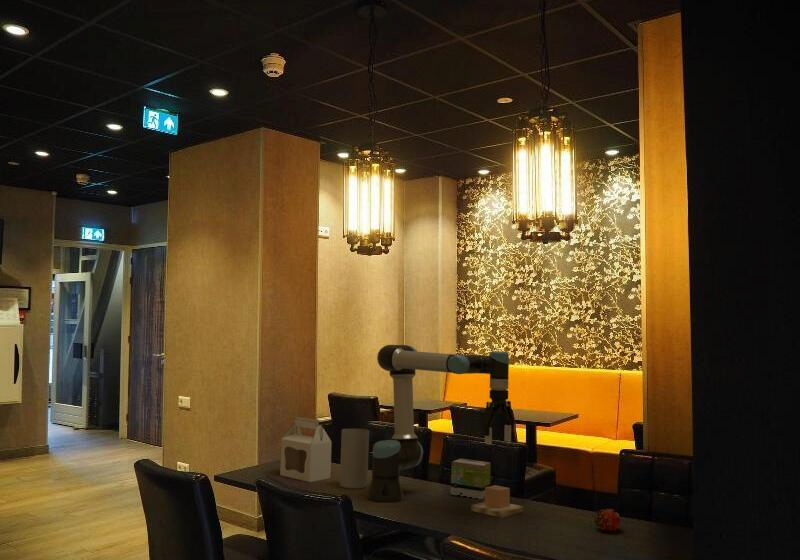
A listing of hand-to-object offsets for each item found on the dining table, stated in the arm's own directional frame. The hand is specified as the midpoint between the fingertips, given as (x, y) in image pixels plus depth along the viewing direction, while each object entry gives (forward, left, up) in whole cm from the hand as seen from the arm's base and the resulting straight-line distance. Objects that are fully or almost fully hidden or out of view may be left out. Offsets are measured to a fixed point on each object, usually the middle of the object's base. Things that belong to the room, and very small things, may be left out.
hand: (498, 442), depth 270 cm
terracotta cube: (0, 0, -25) cm, 25 cm away
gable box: (-100, -17, -27) cm, 105 cm away
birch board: (0, 0, -27) cm, 27 cm away
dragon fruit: (+43, +8, -27) cm, 52 cm away
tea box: (-24, +14, -27) cm, 39 cm away
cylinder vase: (-70, -13, -27) cm, 76 cm away
